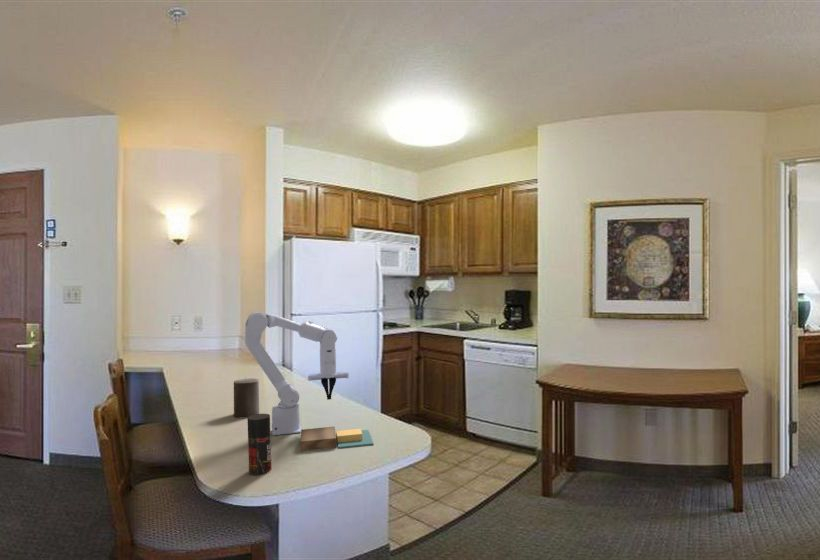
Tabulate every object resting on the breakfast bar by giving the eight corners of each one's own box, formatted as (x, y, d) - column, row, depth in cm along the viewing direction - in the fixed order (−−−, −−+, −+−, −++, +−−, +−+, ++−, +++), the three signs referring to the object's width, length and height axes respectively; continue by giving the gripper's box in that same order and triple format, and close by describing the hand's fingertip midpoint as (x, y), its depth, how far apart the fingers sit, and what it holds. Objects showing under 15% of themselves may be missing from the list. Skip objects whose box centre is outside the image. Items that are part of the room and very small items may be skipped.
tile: (337, 442, 146) (337, 436, 146) (336, 436, 151) (336, 430, 151) (362, 440, 147) (362, 433, 147) (360, 434, 153) (360, 428, 153)
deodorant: (252, 467, 129) (250, 414, 129) (273, 465, 130) (272, 413, 130) (246, 475, 123) (244, 420, 123) (268, 474, 124) (267, 419, 124)
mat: (338, 448, 142) (338, 446, 142) (336, 434, 155) (336, 432, 155) (373, 444, 144) (373, 443, 144) (368, 431, 158) (368, 429, 158)
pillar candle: (239, 419, 177) (238, 380, 177) (230, 414, 184) (229, 377, 184) (263, 414, 183) (262, 377, 183) (253, 409, 191) (253, 373, 191)
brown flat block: (300, 451, 140) (300, 441, 140) (301, 438, 152) (301, 429, 152) (336, 447, 143) (336, 438, 143) (334, 435, 154) (334, 426, 154)
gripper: (307, 364, 161) (308, 403, 161) (348, 362, 164) (349, 400, 164) (308, 361, 168) (309, 398, 168) (347, 359, 171) (348, 395, 171)
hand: (329, 398), depth 167 cm, fingers closed
